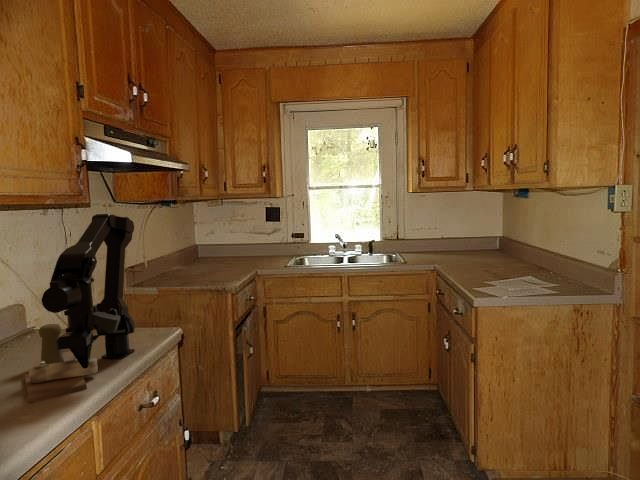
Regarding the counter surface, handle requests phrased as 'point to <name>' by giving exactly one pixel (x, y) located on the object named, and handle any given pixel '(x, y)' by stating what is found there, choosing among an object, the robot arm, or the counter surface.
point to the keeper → (64, 357)
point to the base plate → (53, 387)
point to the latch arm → (61, 370)
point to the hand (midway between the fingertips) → (85, 368)
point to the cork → (50, 343)
